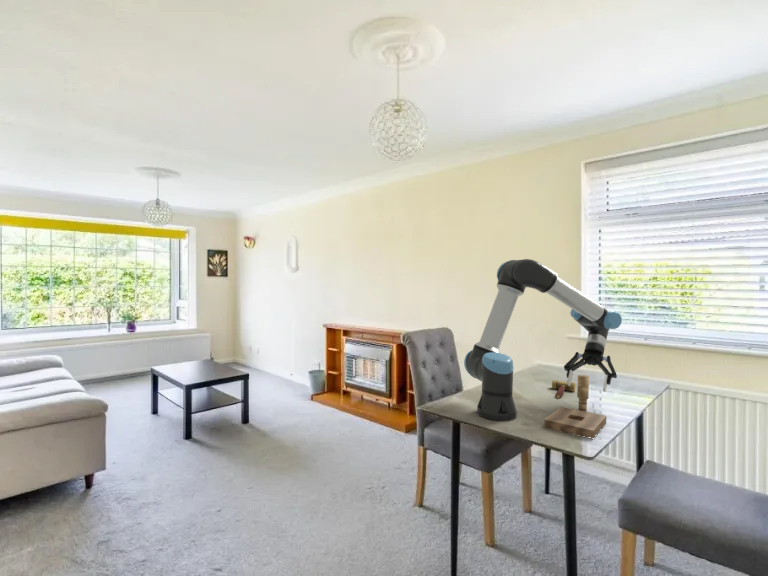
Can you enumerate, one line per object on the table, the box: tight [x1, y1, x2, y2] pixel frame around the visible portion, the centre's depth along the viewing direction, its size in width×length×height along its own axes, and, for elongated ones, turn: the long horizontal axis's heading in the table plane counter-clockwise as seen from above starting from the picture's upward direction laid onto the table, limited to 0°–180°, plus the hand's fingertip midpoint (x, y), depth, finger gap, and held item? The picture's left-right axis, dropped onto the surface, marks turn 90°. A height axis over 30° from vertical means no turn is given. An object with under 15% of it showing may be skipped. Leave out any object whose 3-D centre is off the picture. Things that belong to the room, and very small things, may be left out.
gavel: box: [551, 379, 576, 399], centre depth 189 cm, size 21×5×10 cm
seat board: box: [543, 406, 607, 439], centre depth 146 cm, size 16×20×3 cm
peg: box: [576, 374, 590, 412], centre depth 165 cm, size 4×4×14 cm
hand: (585, 387), depth 166 cm, fingers open, 13 cm apart
